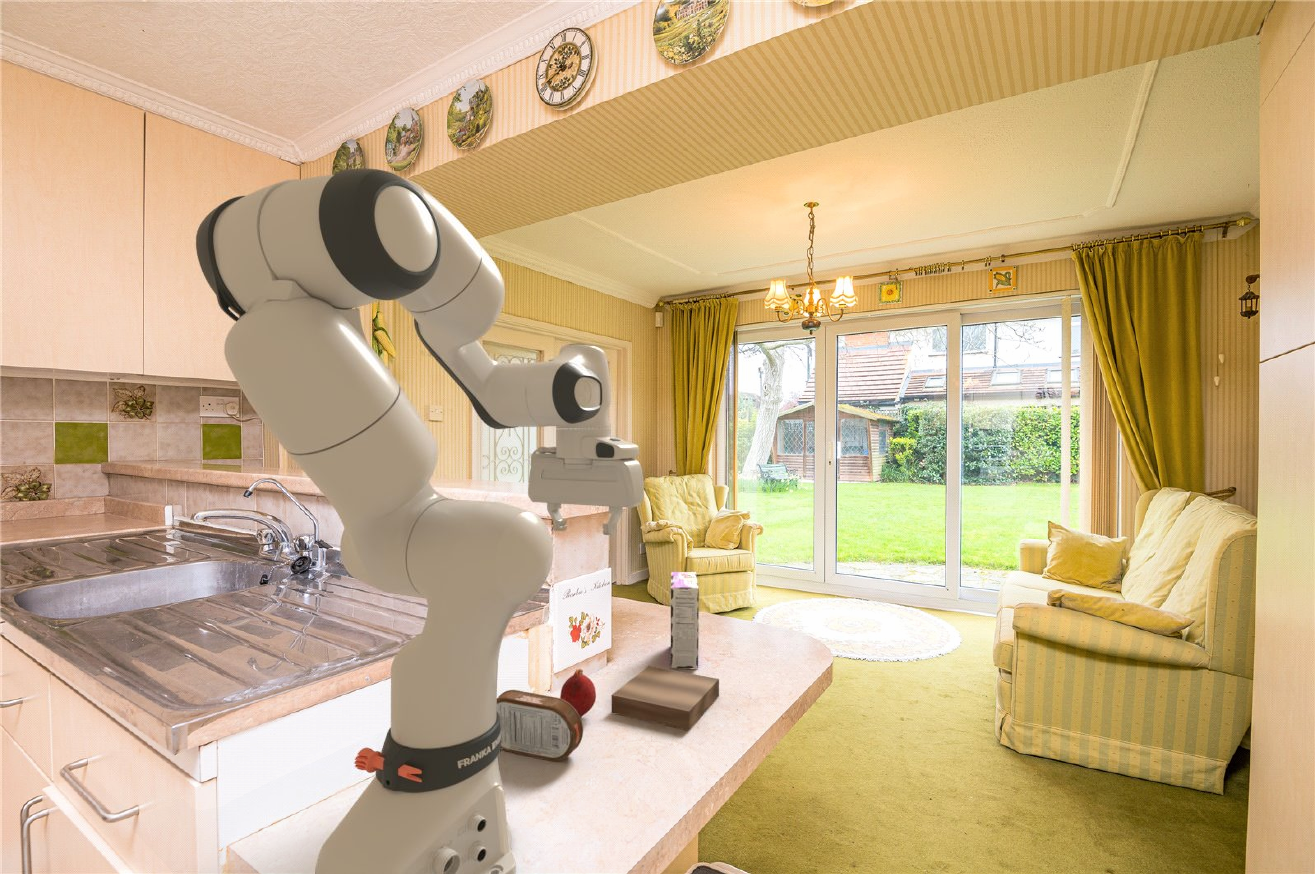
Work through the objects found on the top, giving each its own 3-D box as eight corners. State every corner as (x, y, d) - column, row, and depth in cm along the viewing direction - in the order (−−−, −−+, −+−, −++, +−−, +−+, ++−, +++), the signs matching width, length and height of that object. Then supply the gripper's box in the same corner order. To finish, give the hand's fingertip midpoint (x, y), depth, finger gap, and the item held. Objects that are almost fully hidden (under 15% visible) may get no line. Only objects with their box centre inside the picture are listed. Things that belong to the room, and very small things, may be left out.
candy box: (670, 645, 132) (670, 570, 132) (697, 645, 132) (697, 571, 132) (669, 669, 118) (669, 586, 118) (699, 669, 118) (699, 586, 118)
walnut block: (689, 730, 93) (689, 711, 93) (611, 712, 99) (611, 694, 99) (719, 695, 106) (719, 678, 106) (648, 681, 112) (648, 665, 112)
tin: (584, 757, 85) (584, 699, 85) (573, 769, 82) (573, 708, 82) (495, 739, 90) (495, 684, 90) (482, 749, 87) (482, 692, 88)
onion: (589, 728, 94) (589, 677, 94) (554, 724, 95) (554, 674, 95) (600, 711, 100) (600, 664, 100) (567, 708, 101) (567, 661, 101)
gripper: (519, 447, 97) (520, 531, 98) (629, 448, 89) (630, 540, 89) (542, 446, 103) (543, 525, 103) (648, 446, 94) (648, 533, 94)
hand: (584, 532), depth 96 cm, fingers open, 8 cm apart
